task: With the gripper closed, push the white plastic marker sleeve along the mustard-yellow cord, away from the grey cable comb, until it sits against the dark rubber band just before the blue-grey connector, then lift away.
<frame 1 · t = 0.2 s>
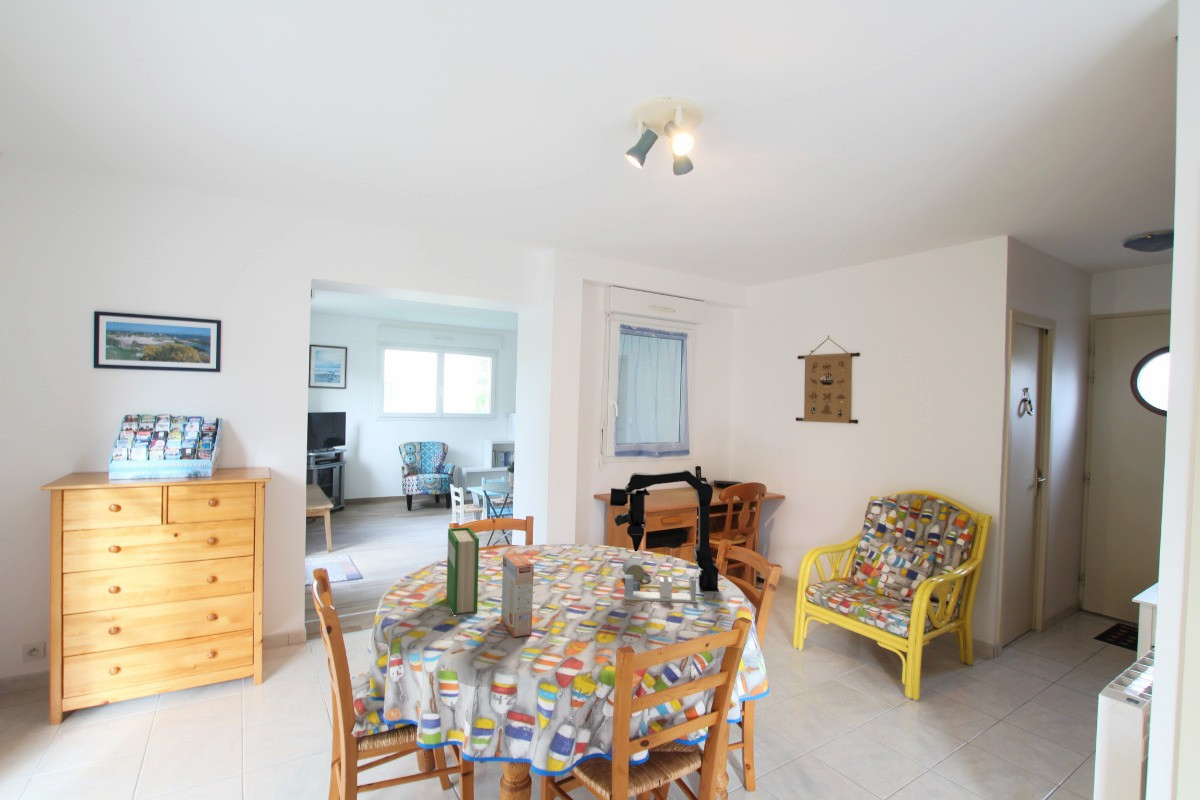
hand: (636, 547, 204), 14 cm above the table, fingers open, 9 cm apart
cracker box: (516, 628, 164), on the table
marker sleeve: (665, 586, 192), point 4 cm above the table, slide at 0.0 cm
cord rig: (659, 597, 192), on the table
hardback book: (461, 606, 181), on the table
ceramic mug: (636, 580, 211), on the table
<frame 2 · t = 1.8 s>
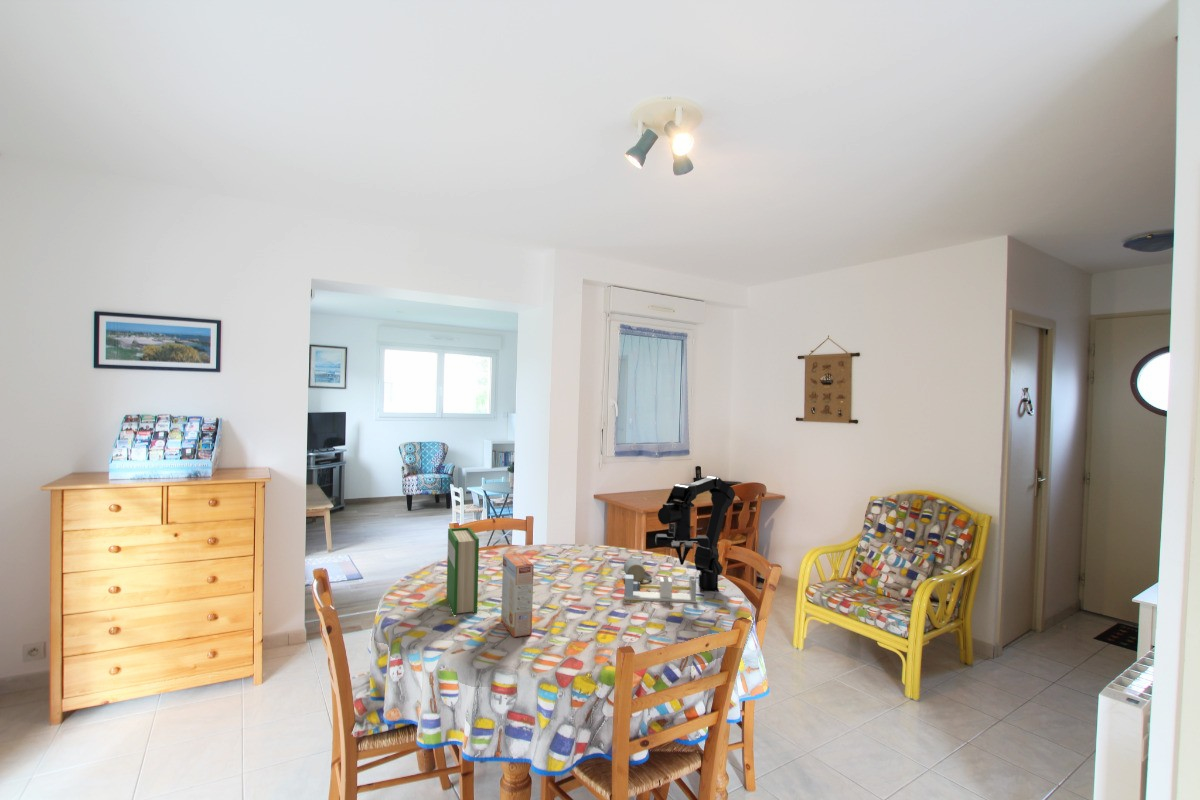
hand: (681, 564, 192), 12 cm above the table, fingers closed
nothing on the table moved.
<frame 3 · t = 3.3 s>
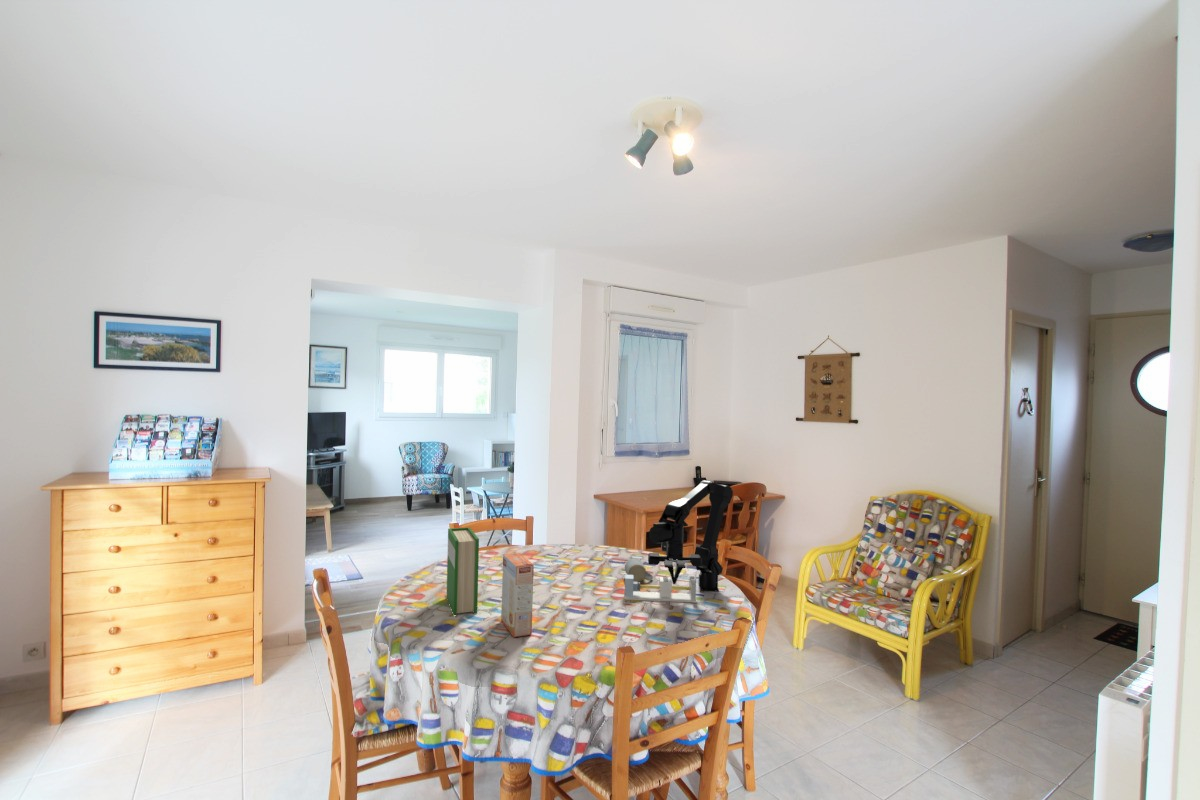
hand: (674, 583, 192), 5 cm above the table, fingers closed
marker sleeve: (665, 586, 192), point 4 cm above the table, slide at 0.1 cm, touching gripper
everything else where it was.
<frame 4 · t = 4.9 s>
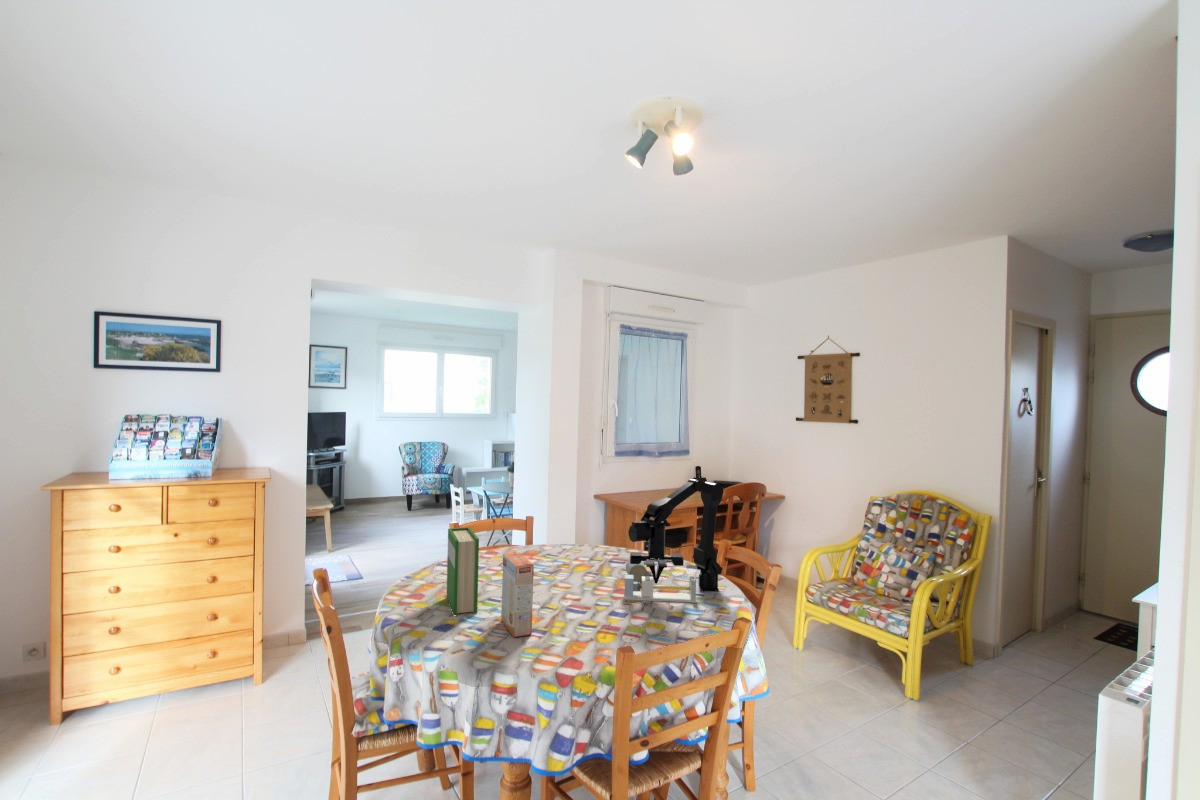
hand: (655, 583, 192), 5 cm above the table, fingers closed
marker sleeve: (647, 586, 192), point 4 cm above the table, slide at 6.5 cm, touching gripper
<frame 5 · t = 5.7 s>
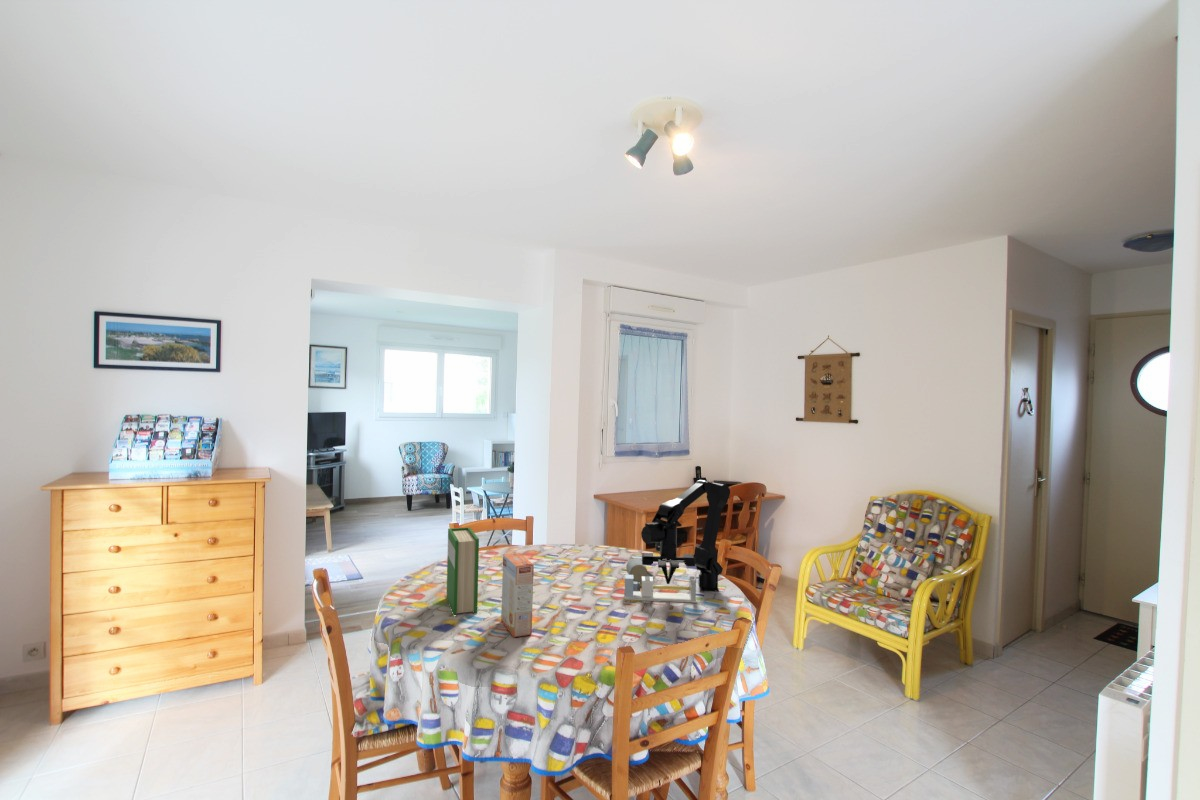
hand: (668, 583, 192), 5 cm above the table, fingers closed
marker sleeve: (647, 586, 192), point 4 cm above the table, slide at 6.5 cm
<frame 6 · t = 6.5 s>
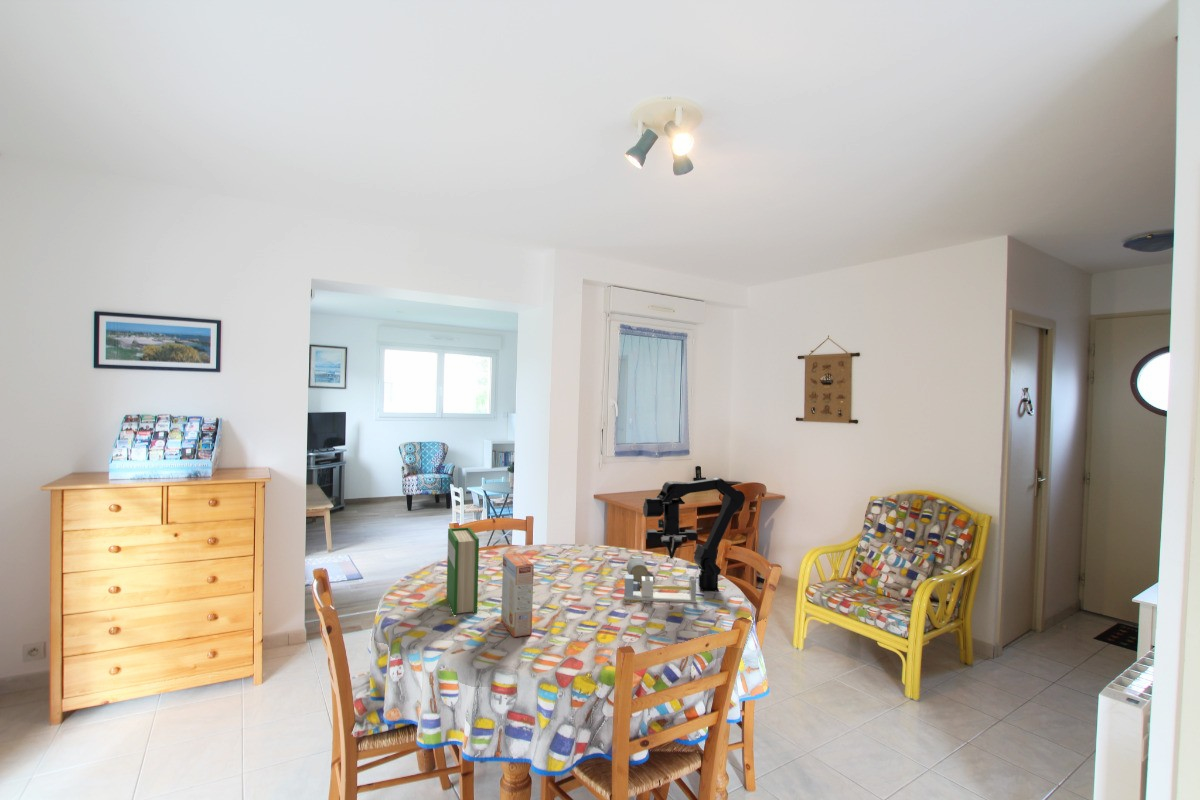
hand: (671, 558, 200), 12 cm above the table, fingers closed
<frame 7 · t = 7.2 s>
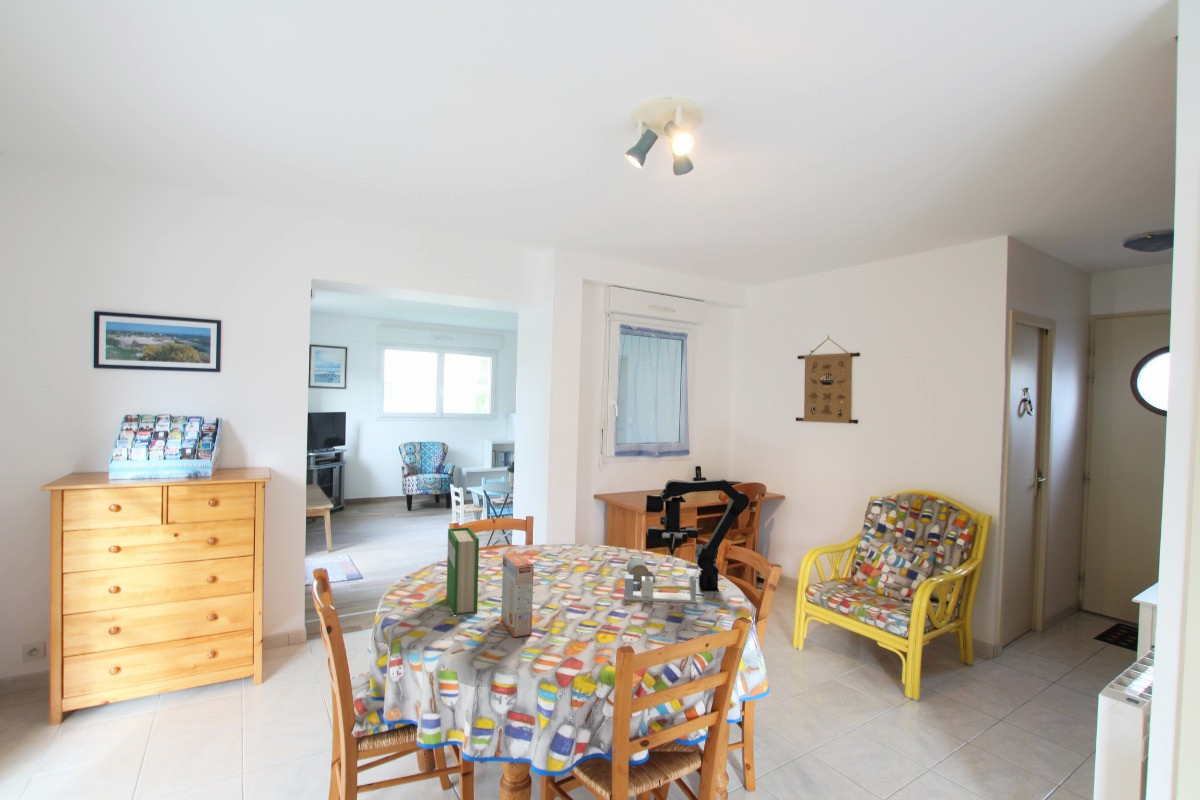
hand: (671, 554, 204), 12 cm above the table, fingers closed
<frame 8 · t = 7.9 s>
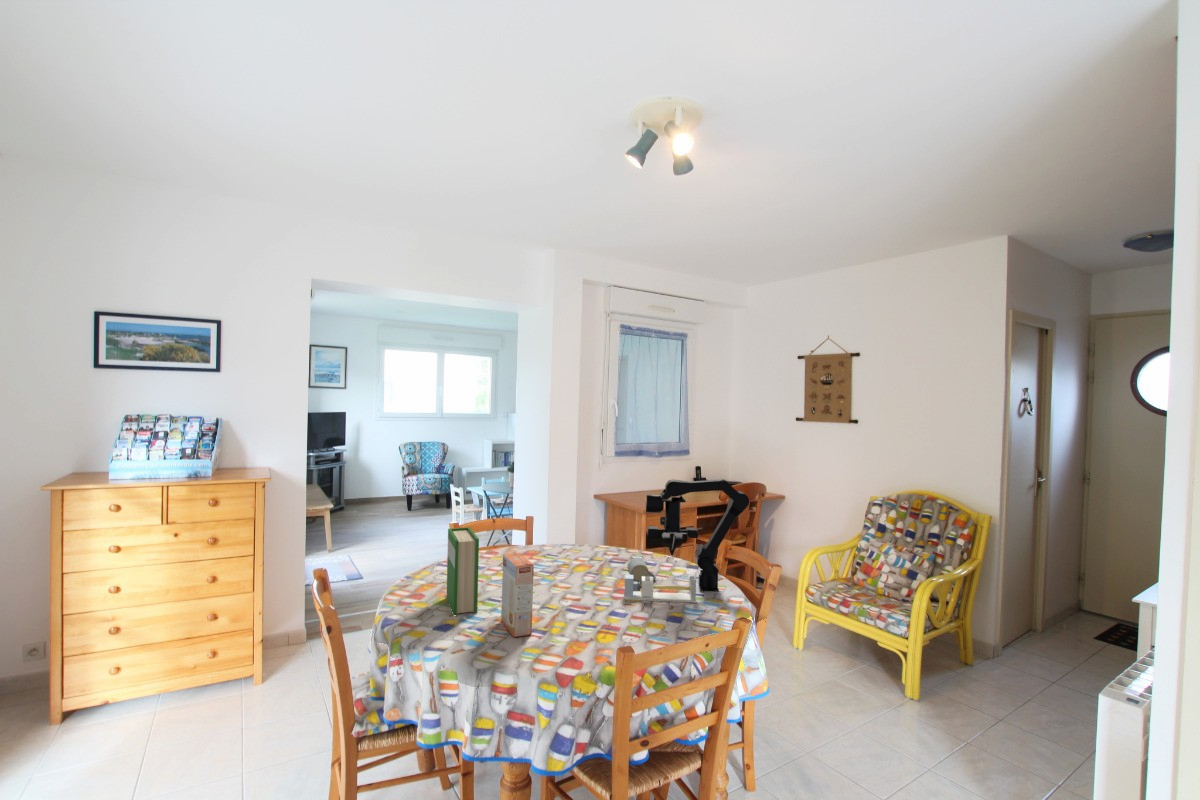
hand: (671, 554, 204), 12 cm above the table, fingers closed
at the end: marker sleeve slide at 6.5 cm; the gripper is holding nothing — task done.
